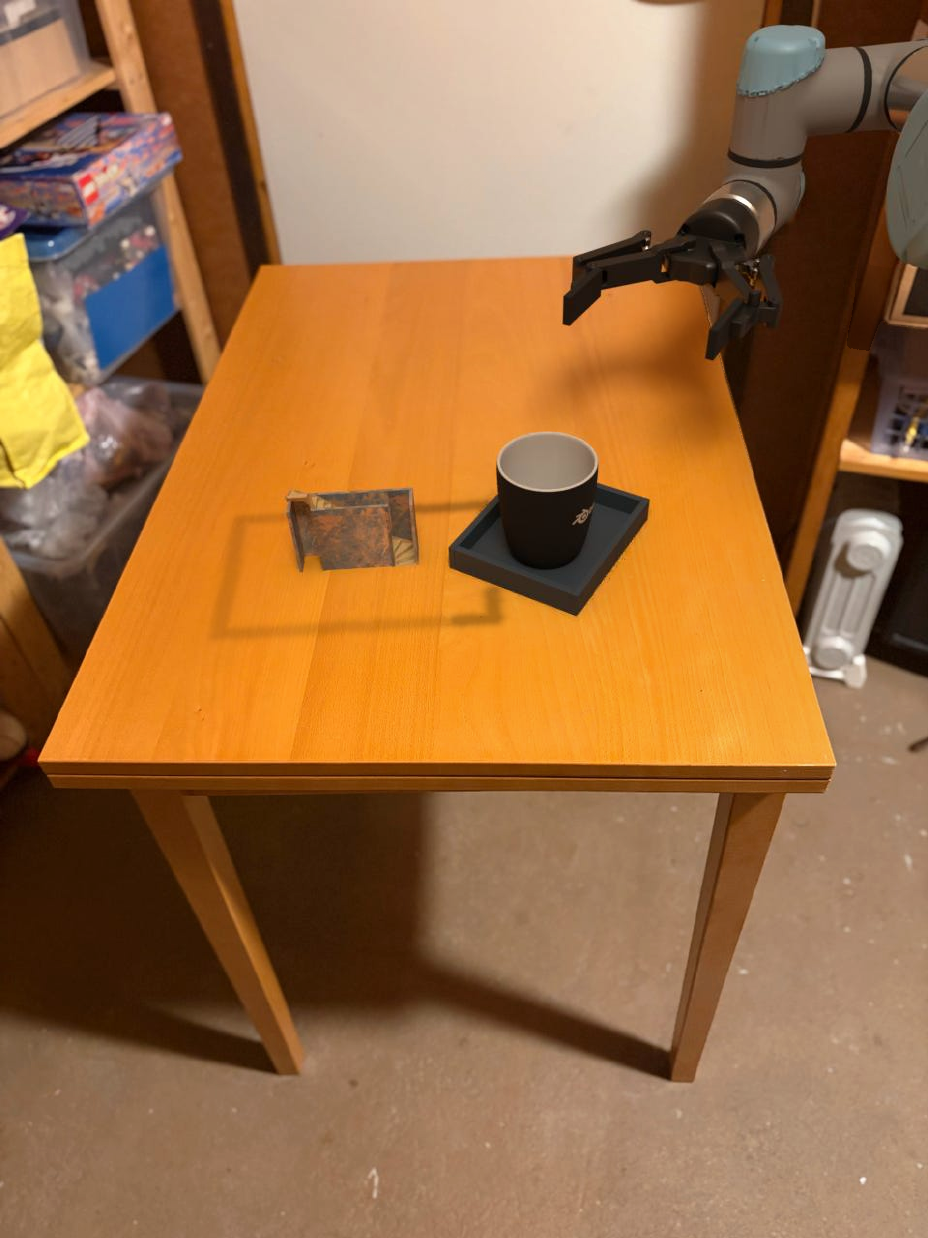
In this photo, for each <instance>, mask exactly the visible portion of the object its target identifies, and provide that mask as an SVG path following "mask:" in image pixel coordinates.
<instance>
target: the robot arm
mask: <svg viewBox="0 0 928 1238" xmlns="http://www.w3.org/2000/svg"><path fill="white" fill-rule="evenodd" d="M733 103H734V104H733V111H732V112H733V113H732V119H731V121H732V122H731V129H730V136H729V145H728V149H727V153H726V158H725V165H724V166H725V167H724V173H723V179H722V183H721V185H720V186H719V187H718V188H717V189H716V190H715V191H714V192H713V193H712V194H711V195H710V196H708V197H707V199H705V200H704V201H703V202H702V203H701V204H700V205H699V206H698V207H697V208H696V209H695V210H694V211H693V212H692V213H691V214H690V215H689V216H688V217H687V218H686V219H685V220H683V222H682V224H681V225H680V227H679V228H678V230H677V232H676V234H675V235H674V236H673V237H671V238H666V239H665V240H664V241H663V242H662V241H657V240H654V239H652V234H653V233H652V231H651V230H647V229H643V230H640V231H639V232H637V233H635V234H634V235H633V236H632V237H629V238H625V239H623V240H619V241H617V242H614V243H611V244H607V245H605V246H601V247H598V248H594V249H592V250H589V251H586V252H583V253H580V254H577V255H573V257H572V263H571V265H572V266H571V268H572V269H571V282H570V289H569V290H568V291H567V292H566V293H565V294H564V295H563V297H562V298H563V300H562V301H563V302H562V323H561V324H562V325H564V326H568V327H570V326H571V325H573V324H574V323H575V322H576V321H577V320H578V319H579V318H580V317H582V315H583V314H584V313H585V312H587V310H588V309H589V308H591V307H592V305H594V304H595V303H596V302H597V301H598V300H599V299H600V298H601V297H602V291H606V290H609V289H615V288H619V287H620V288H621V287H625V286H630V285H635V284H639V283H644V282H645V283H646V282H650V281H652V282H653V283H654V284H656V285H660V284H664V283H669V282H673V281H674V282H675V281H677V282H683V283H685V282H686V283H690V284H693V285H695V286H701V287H703V286H705V288H708V289H710V291H711V292H712V293H713V295H714V296H715V297H720V298H721V299H722V301H723V302H724V303H725V304H726V306H727V308H726V309H725V310H724V311H723V312H722V314H721V315H720V316H719V317H718V318H717V319H716V321H715V322H714V323H713V324H712V325H711V326H710V328H709V329H708V334H707V343H706V348H705V354H704V359H705V360H708V361H713V362H714V361H715V359H716V358H717V357H718V356H719V354H720V353H721V352H722V351H723V349H724V348H725V347H726V345H727V344H728V343H729V342H730V341H731V339H732V338H734V339H737V340H740V339H742V338H744V337H745V336H746V334H747V333H748V332H749V330H750V329H751V328H754V327H755V326H756V324H763V326H764V327H765V328H766V329H770V330H771V329H772V330H774V329H776V328H778V326H779V322H780V317H781V313H782V308H783V302H784V299H783V296H782V292H781V290H780V285H779V283H778V280H777V277H776V273H775V271H774V267H775V262H776V255H775V254H773V253H765V254H763V255H762V256H761V257H760V258H756V259H754V258H755V257H756V256H757V255H758V253H759V252H760V251H761V250H762V249H763V248H764V247H765V246H766V244H767V243H768V242H769V241H770V239H771V238H772V237H773V235H775V233H776V232H778V230H779V229H780V228H781V227H783V226H784V225H785V224H786V223H787V222H788V221H789V220H790V219H791V217H793V213H794V212H796V210H797V208H798V206H799V204H800V202H801V201H802V198H803V196H804V193H805V188H806V176H805V172H804V169H803V165H802V160H803V156H804V153H805V147H806V144H807V140H808V138H809V137H817V136H826V135H837V134H847V133H853V132H867V131H880V130H884V131H887V130H888V131H891V132H892V131H893V132H897V133H900V134H899V137H898V139H897V143H896V145H895V148H894V151H893V156H892V159H891V164H890V169H889V173H888V178H887V184H886V194H885V223H886V231H887V236H888V240H889V243H890V247H891V248H892V250H893V252H894V254H895V255H896V257H897V258H898V259H899V260H900V261H901V262H902V263H904V264H905V265H910V266H912V267H915V268H919V269H921V270H928V38H917V39H914V40H912V41H911V40H910V41H901V42H892V43H891V42H890V43H882V44H875V45H874V44H873V45H865V46H864V45H863V46H846V47H835V48H834V47H833V48H826V37H825V35H824V33H823V32H822V31H820V30H819V29H817V28H814V27H811V26H806V25H797V24H795V25H787V24H778V25H772V26H771V25H770V26H765V27H763V28H759V29H758V30H756V31H754V32H753V33H752V34H751V35H750V36H749V37H748V38H747V40H746V42H745V45H744V48H743V53H742V57H741V60H740V65H739V70H738V77H737V79H736V82H735V95H734V102H733ZM663 268H664V270H665V271H662V270H663ZM744 274H745V275H747V277H748V279H750V282H749V283H750V284H749V283H748V282H747V280H746V279H745V278H744V277H743V275H744ZM752 287H753V288H752Z"/></svg>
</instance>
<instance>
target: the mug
mask: <svg viewBox="0 0 928 1238" xmlns="http://www.w3.org/2000/svg"><path fill="white" fill-rule="evenodd" d="M495 471H496V472H495V477H496V490H497V494H498V500H499V507H500V514H501V519H502V524H503V529H504V533H505V537H506V540H507V543H508V546H509V548H510V550H511V551H512V553H513V554H514V556H515V557H516V558H517V559H518V560H519V561H521V562H522V563H524V564H526V565H528V566H530V567H534V568H539V569H553V568H557V567H561V566H563V565H566V564H567V563H569V562H570V561H572V560H573V559H574V558H575V557H576V556H577V554H578V553H579V551H580V550H581V548H582V546H583V544H584V541H585V539H586V536H587V532H588V529H589V525H590V521H591V517H592V512H593V507H594V501H595V495H596V488H597V483H598V480H599V479H598V478H599V457H598V454H597V452H596V451H595V449H594V448H593V447H592V446H591V445H590V444H589V443H588V442H586V441H585V440H583V438H579V437H578V436H575V435H572V434H568V433H565V432H560V431H536V432H529V433H526V434H523V435H520V436H517V437H515V438H514V439H511V440H510V441H508V442H507V443H506V444H505V445H504V446H503V447H502V448H501V449H500V450H499V452H498V454H497V457H496V461H495Z"/></svg>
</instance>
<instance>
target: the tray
mask: <svg viewBox="0 0 928 1238" xmlns="http://www.w3.org/2000/svg"><path fill="white" fill-rule="evenodd" d="M650 502H651V499H650V498H647V497H643V496H641V495H637V494H634V493H631V492H629V491H625V490H622V489H619V488H616V487H613V486H609V485H606V484H603V483H600V482H597V488H596V495H595V501H594V507H593V512H592V517H591V521H590V525H589V529H588V532H587V536H586V539H585V541H584V544H583V546H582V548H581V550H580V551H579V553H578V554H577V556H576V557H575V558H574V559H573V560H572V561H570V562H569V563H567V564H566V565H563V566H561V567H557V568H553V569H539V568H534V567H530V566H528V565H526V564H524V563H522V562H521V561H519V560H518V559H517V558H516V557H515V556H514V554H513V553H512V551H511V550H510V548H509V546H508V543H507V540H506V537H505V533H504V529H503V524H502V519H501V514H500V507H499V500H498V493H496V495H495V496H493V498H492V499H491V501H489V502H488V503H487V505H486V506H485V507H484V508H483V509H482V510H481V511H480V512H479V513H478V515H476V517H474V519H473V520H472V521H471V522H470V523H469V524H468V525H467V526H466V528H465V529H464V530H463V531H462V532H461V533H460V534H459V536H457V537H456V538H455V540H454V541H453V542H452V543H451V544H450V545H449V546H448V548H447V549H448V562H449V568H450V569H453V570H455V571H459V572H461V573H464V574H467V575H468V576H471V577H475V578H477V579H479V580H482V581H485V582H487V583H490V584H492V585H495V586H498V587H500V588H503V589H506V590H508V591H510V592H513V593H516V594H518V595H521V596H524V597H527V598H529V599H531V600H534V601H537V602H539V603H542V604H544V605H547V606H550V607H552V608H554V609H557V610H560V611H563V612H565V613H569V615H573V616H575V617H577V616H578V615H579V614H580V613H581V612H582V610H583V609H584V608H585V606H586V604H587V603H588V602H589V600H590V599H591V597H592V596H594V594H595V592H596V590H597V589H598V588H599V587H600V585H601V584H602V582H603V581H604V580H605V578H606V577H607V576H608V574H609V573H610V571H612V569H613V567H614V566H615V564H616V563H617V562H618V561H619V559H620V557H621V556H622V555H623V554H624V552H625V551H626V549H627V548H628V547H629V546H630V544H631V542H632V541H633V540H634V539H635V537H636V536H637V535H638V533H639V531H640V530H641V529H642V528H643V526H644V525H645V523H646V522H647V521H648V519H649V510H650Z"/></svg>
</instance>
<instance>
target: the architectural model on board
mask: <svg viewBox="0 0 928 1238" xmlns="http://www.w3.org/2000/svg"><path fill="white" fill-rule="evenodd" d="M284 499H285V501H286V503H287V505H286V510H285V513H286V517H287V523H288V526H289V531H290V535H291V541H292V544H293V548H294V554H295V557H296V561H297V566H298V570H299V573H303V572H304V568H305V560H306V559H305V558H306V557H314V556H319V557H320V563H321V567H322V572H326V571H339V570H356V569H369V568H370V569H371V568H372V569H373V568H387V567H391V568H397V567H413V566H414V567H416V566H420V559H419V558H420V556H419V554H420V552H419V550H420V549H419V547H420V546H419V539H418V537H419V536H418V529H417V528H418V526H417V519H416V518H417V517H416V508H415V507H416V506H415V498H414V489H413V487H397V488H380V489H363V490H346V491H329V492H328V491H327V492H306V491H301V490H297V489H293V488H290V489H289V491H288V493H287V494H286V495H285V496H284Z"/></svg>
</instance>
